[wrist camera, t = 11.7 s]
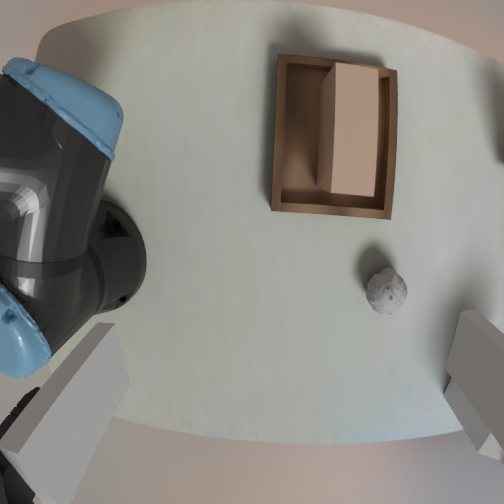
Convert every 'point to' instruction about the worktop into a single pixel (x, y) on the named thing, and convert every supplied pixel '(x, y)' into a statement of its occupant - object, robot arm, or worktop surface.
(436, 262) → the worktop surface
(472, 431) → the milk carton
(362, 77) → the tan rectangular block
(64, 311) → the robot arm
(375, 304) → the garlic
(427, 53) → the worktop surface
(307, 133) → the tray
